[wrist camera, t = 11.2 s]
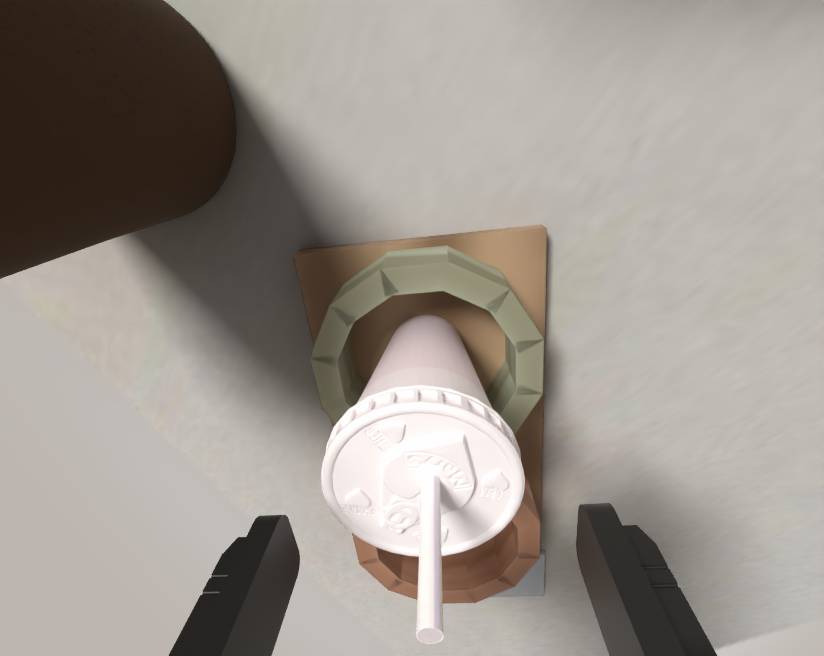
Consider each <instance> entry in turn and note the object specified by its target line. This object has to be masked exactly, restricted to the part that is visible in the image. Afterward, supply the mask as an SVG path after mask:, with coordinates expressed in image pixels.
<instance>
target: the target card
mask: <svg viewBox="0 0 824 656" xmlns="http://www.w3.org/2000/svg"><path fill="white" fill-rule="evenodd" d="M544 573H545V553H544V551H540V558H539V559H538V560H537V562H536V563H535V564H534V565H533V566H532V567H531V569H530V570H529V571H528V572H527V573H526V575H525V576H524V577H523V578H522V579H521V580H520V582H519V583H518V584H517V585H516V586H515V587H513V588H511V589H508V590H506V591H503V592H501V593H498V594H496V595H493V596H491V597H512V596H544Z"/></svg>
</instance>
